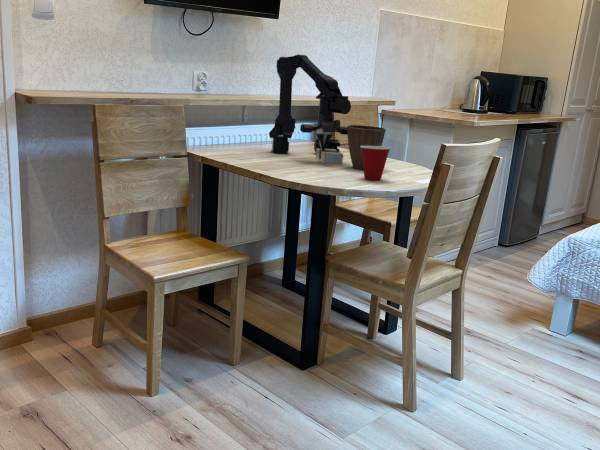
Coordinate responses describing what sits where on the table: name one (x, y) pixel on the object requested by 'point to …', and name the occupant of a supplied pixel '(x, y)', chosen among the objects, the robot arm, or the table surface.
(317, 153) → the walnut block
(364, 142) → the plant pot
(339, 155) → the slate block
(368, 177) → the plastic cup
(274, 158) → the table surface
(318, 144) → the end cap
